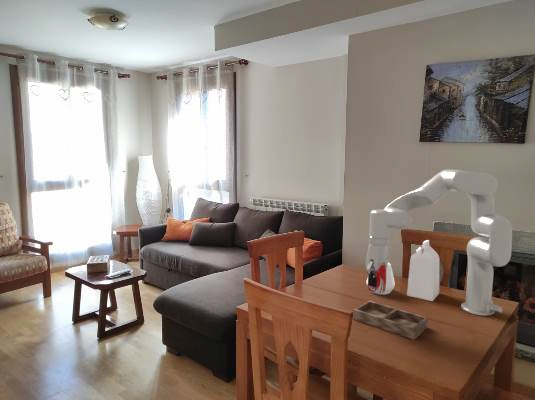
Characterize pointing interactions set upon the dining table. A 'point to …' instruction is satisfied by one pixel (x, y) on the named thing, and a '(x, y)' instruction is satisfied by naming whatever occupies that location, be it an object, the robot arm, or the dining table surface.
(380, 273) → the soda can
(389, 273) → the white faceted vase
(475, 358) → the dining table surface
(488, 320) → the dining table surface
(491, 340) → the dining table surface
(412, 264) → the milk
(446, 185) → the robot arm
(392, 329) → the caddy
